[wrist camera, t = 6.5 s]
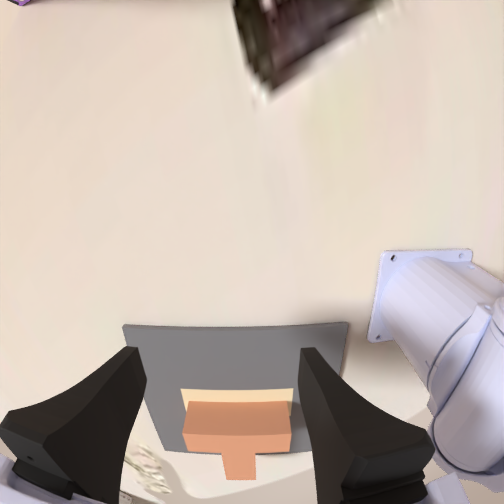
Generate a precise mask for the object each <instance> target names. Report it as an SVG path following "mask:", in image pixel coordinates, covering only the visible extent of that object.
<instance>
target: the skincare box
mask: <svg viewBox="0 0 504 504" xmlns="http://www.w3.org/2000/svg"><path fill="white" fill-rule="evenodd" d="M132 499H133V498H132V497H130V496H128V495H126V494H125V493H123V492H121V491H120V494H119V504H131V503H132Z"/></svg>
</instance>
